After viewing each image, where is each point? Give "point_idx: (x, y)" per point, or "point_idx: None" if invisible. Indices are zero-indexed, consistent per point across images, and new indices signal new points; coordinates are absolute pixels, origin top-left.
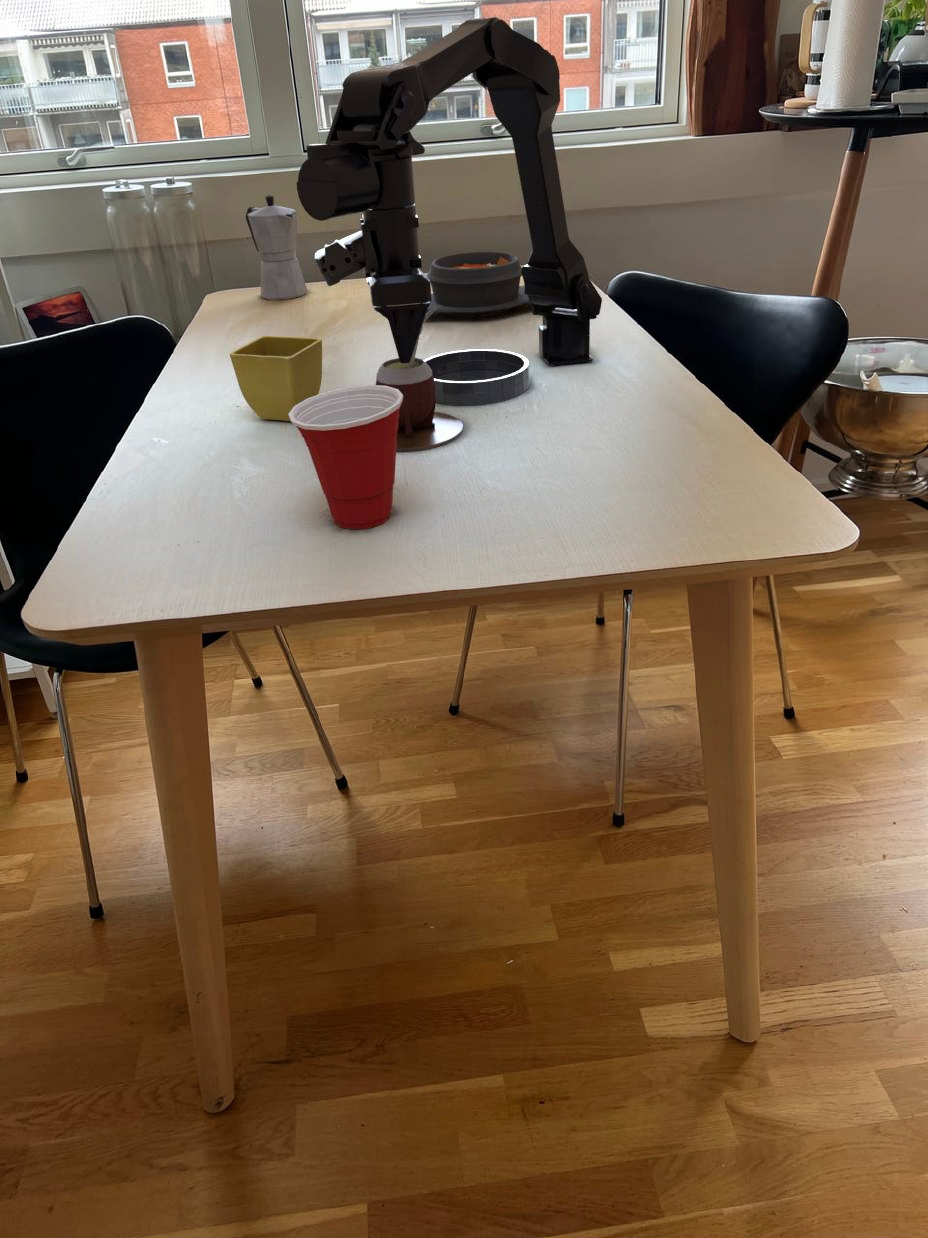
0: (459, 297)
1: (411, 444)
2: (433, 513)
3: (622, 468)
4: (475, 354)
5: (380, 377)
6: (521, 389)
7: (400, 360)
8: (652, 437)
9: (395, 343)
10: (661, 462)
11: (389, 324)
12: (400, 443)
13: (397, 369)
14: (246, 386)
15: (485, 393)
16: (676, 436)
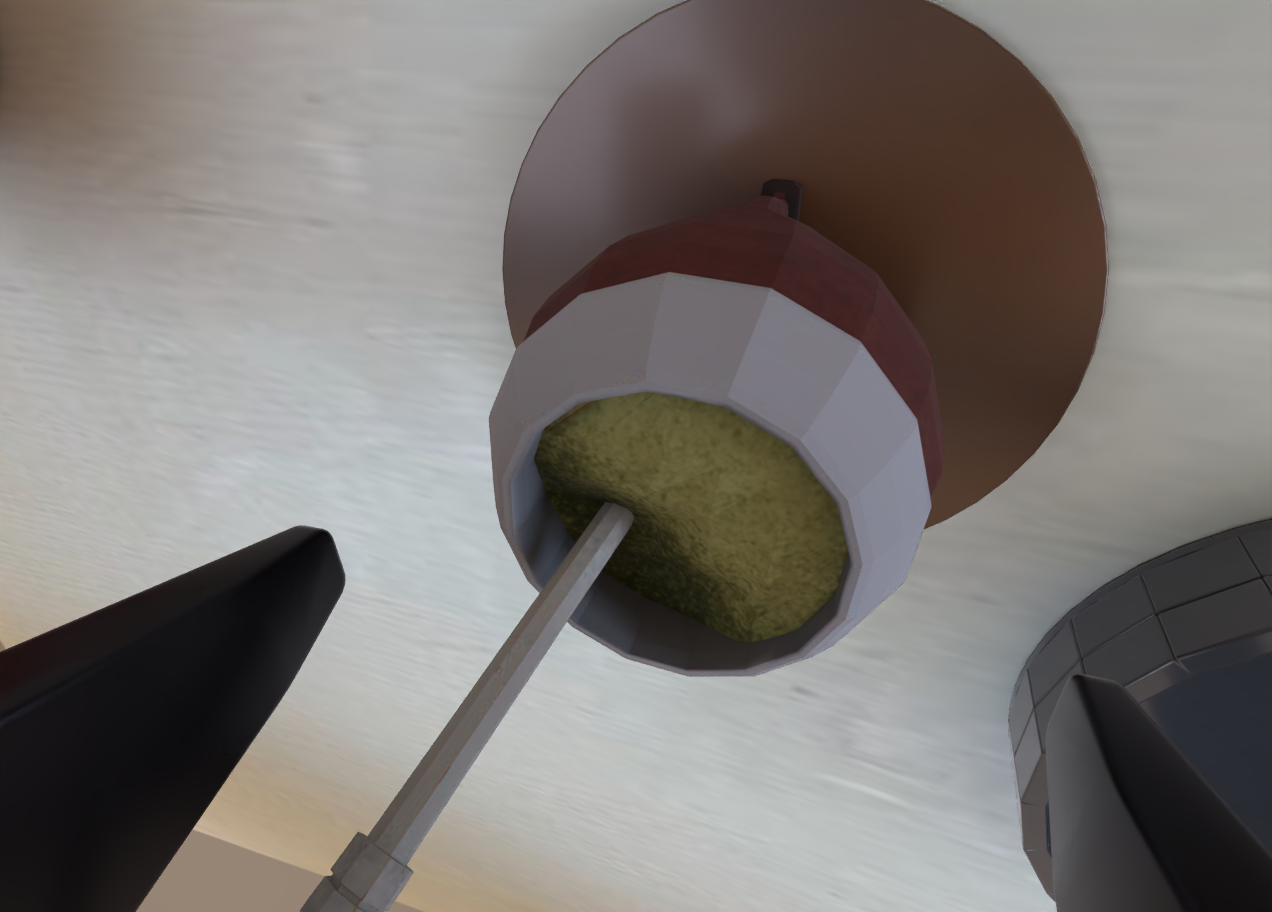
0: None
1: (547, 297)
2: (16, 263)
3: (344, 729)
4: None
5: (581, 314)
6: None
7: (275, 536)
8: (518, 847)
9: (85, 617)
10: (375, 789)
11: (1155, 847)
12: (570, 248)
13: (619, 475)
14: None
15: (1015, 738)
16: (516, 875)
